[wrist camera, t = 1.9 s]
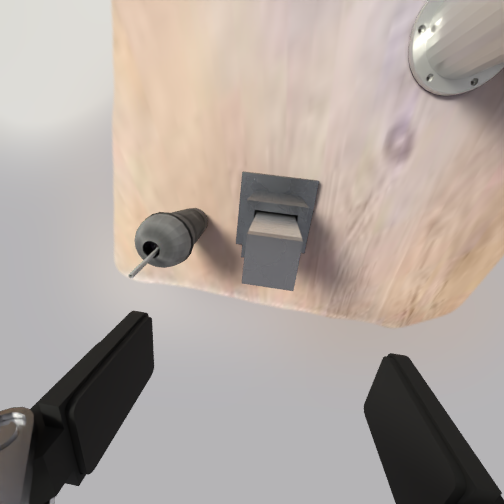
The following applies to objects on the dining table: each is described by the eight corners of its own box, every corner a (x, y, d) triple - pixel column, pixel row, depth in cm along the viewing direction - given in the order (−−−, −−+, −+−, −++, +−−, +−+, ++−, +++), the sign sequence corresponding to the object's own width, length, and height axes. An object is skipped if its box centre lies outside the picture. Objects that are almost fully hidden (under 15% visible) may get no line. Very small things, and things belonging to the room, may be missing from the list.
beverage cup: (211, 198, 40) (152, 226, 21) (218, 239, 42) (170, 296, 24) (171, 201, 41) (81, 231, 22) (180, 241, 43) (105, 298, 24)
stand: (318, 180, 37) (337, 187, 25) (303, 250, 41) (314, 286, 29) (243, 171, 38) (226, 173, 26) (237, 241, 42) (220, 272, 30)
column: (290, 202, 37) (303, 241, 18) (286, 229, 39) (293, 291, 20) (262, 199, 37) (246, 233, 18) (259, 226, 39) (240, 283, 20)
